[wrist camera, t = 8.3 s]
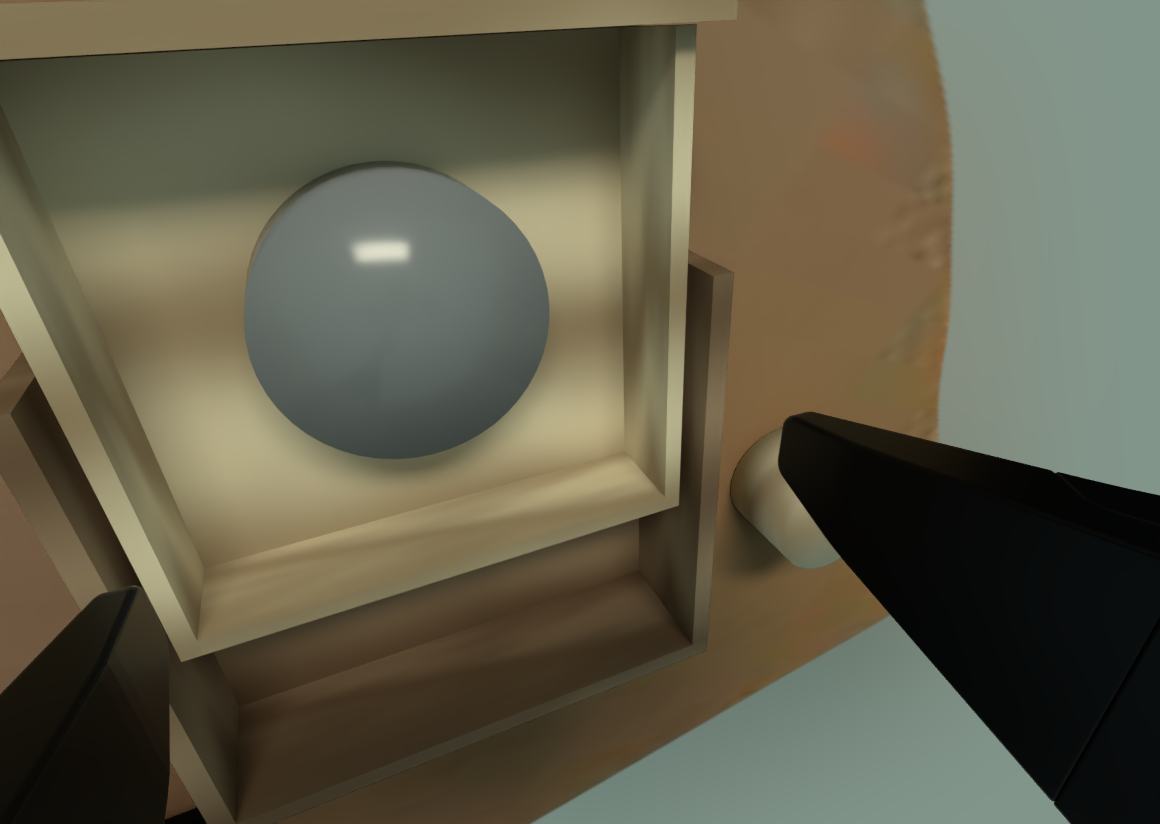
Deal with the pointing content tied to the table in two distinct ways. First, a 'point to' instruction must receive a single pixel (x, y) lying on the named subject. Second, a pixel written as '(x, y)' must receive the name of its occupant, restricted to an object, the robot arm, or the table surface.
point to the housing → (408, 618)
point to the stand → (777, 506)
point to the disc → (393, 310)
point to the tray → (230, 231)
